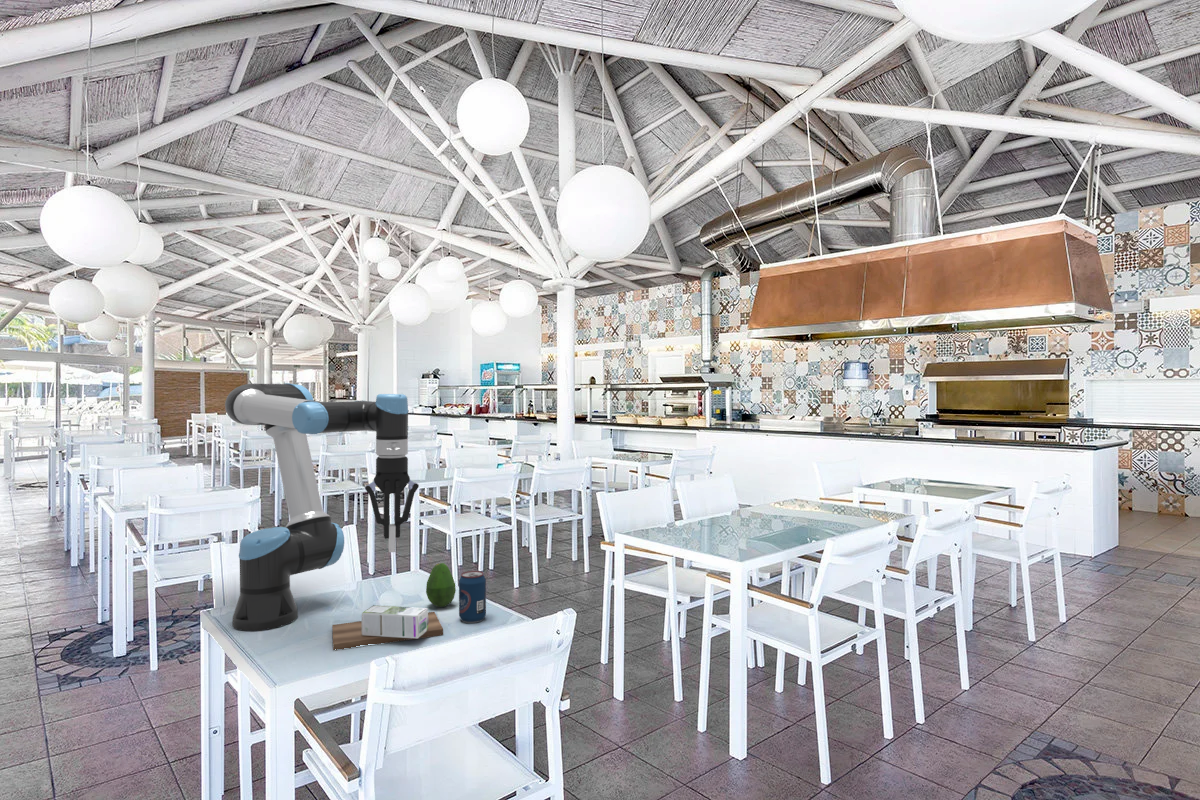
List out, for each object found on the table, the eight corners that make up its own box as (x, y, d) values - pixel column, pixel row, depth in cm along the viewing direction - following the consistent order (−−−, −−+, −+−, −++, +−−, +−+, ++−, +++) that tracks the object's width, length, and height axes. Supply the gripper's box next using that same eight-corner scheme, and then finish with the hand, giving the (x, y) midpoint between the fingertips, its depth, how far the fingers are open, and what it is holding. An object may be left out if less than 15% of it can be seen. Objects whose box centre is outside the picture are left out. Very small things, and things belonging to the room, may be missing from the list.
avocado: (444, 600, 190) (443, 558, 190) (461, 605, 185) (460, 562, 185) (420, 607, 184) (419, 563, 184) (437, 613, 179) (437, 568, 179)
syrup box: (361, 636, 158) (418, 640, 155) (361, 611, 158) (418, 615, 155) (373, 627, 163) (428, 631, 161) (373, 603, 163) (428, 607, 161)
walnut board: (332, 630, 166) (332, 624, 166) (434, 617, 175) (434, 611, 175) (333, 650, 153) (333, 644, 153) (443, 635, 162) (443, 628, 162)
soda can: (453, 619, 174) (453, 573, 174) (476, 613, 179) (475, 568, 179) (469, 625, 169) (468, 578, 169) (491, 619, 174) (491, 573, 174)
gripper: (365, 458, 158) (364, 557, 159) (421, 456, 163) (420, 552, 164) (363, 455, 165) (363, 549, 166) (417, 453, 170) (416, 545, 171)
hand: (391, 550), depth 165 cm, fingers closed
